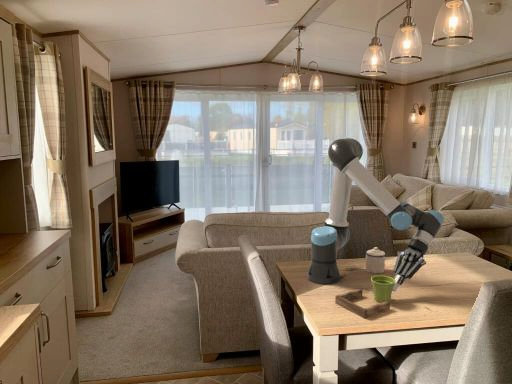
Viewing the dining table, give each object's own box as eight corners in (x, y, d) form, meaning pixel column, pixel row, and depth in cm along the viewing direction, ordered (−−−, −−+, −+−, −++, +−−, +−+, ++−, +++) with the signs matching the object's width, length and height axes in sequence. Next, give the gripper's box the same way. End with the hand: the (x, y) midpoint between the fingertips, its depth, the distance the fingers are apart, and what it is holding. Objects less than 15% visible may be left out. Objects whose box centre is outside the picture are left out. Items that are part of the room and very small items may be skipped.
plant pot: (373, 293, 167) (374, 273, 166) (396, 297, 162) (397, 277, 161) (367, 301, 159) (368, 281, 158) (391, 306, 154) (392, 285, 153)
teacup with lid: (388, 272, 191) (389, 249, 190) (372, 274, 189) (373, 251, 187) (373, 264, 203) (374, 242, 201) (358, 266, 200) (359, 244, 198)
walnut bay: (360, 295, 165) (360, 288, 165) (389, 309, 152) (390, 301, 152) (335, 303, 158) (335, 295, 158) (364, 318, 145) (364, 310, 145)
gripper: (437, 251, 164) (410, 299, 158) (410, 244, 175) (384, 289, 169) (430, 241, 160) (401, 290, 154) (403, 234, 171) (375, 280, 165)
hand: (392, 289), depth 161 cm, fingers closed
